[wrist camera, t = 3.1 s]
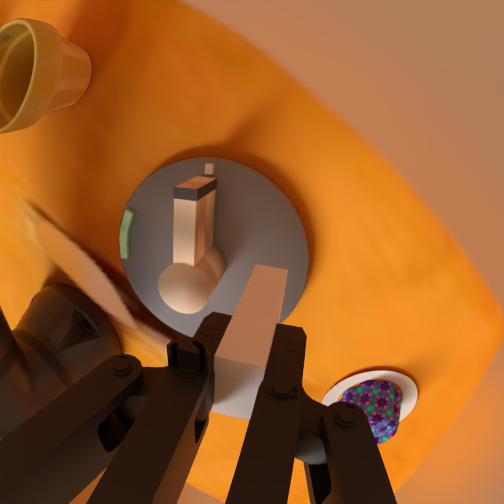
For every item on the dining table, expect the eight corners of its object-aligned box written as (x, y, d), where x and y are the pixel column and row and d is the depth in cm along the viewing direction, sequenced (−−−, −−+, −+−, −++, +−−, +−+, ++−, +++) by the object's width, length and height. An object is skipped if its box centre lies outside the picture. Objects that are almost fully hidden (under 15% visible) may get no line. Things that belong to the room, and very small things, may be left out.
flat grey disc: (291, 348, 32) (289, 360, 30) (133, 313, 34) (124, 323, 32) (324, 171, 25) (325, 174, 23) (125, 151, 27) (114, 153, 25)
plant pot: (92, 134, 27) (19, 146, 18) (31, 116, 27) (-34, 125, 18) (121, 35, 23) (52, 14, 14) (54, 31, 23) (-10, 21, 14)
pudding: (301, 400, 35) (297, 433, 30) (384, 348, 30) (391, 382, 26) (357, 438, 37) (358, 469, 32) (432, 397, 32) (440, 428, 27)
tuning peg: (224, 287, 28) (207, 318, 24) (182, 279, 29) (159, 307, 24) (232, 179, 24) (213, 192, 20) (184, 174, 25) (156, 185, 20)
